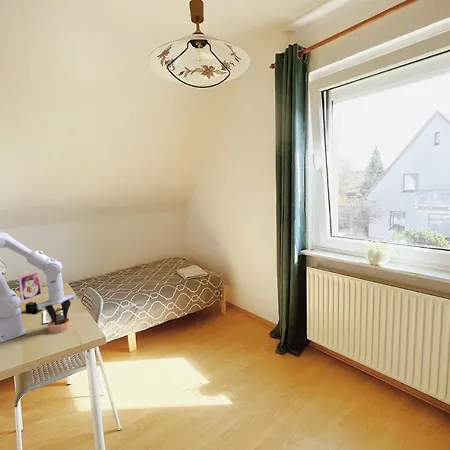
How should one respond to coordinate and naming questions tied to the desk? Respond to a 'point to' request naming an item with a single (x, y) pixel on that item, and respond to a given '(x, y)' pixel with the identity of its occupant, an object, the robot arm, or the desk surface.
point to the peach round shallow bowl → (59, 326)
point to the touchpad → (46, 316)
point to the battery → (59, 316)
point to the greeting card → (30, 285)
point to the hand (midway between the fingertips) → (59, 319)
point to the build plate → (31, 308)
